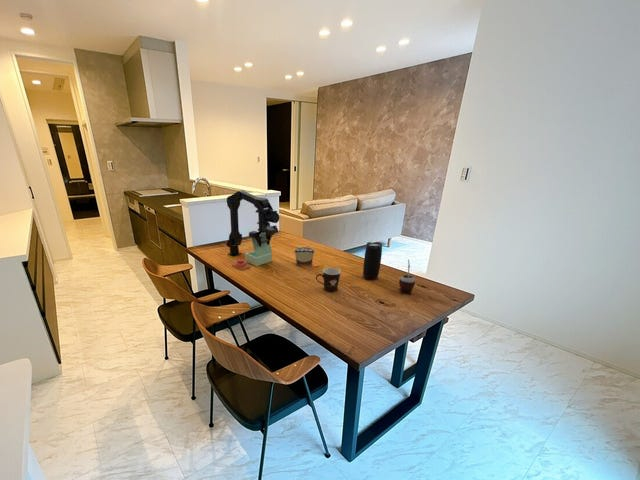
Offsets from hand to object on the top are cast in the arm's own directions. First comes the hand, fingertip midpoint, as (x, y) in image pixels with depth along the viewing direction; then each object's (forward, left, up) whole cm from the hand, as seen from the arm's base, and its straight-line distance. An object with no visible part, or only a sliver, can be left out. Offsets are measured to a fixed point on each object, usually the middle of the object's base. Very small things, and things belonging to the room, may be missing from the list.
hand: (264, 245), depth 182 cm
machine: (-6, 0, -12) cm, 13 cm away
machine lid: (-3, 0, 0) cm, 3 cm away
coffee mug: (+50, +1, -12) cm, 51 cm away
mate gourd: (+78, +27, -12) cm, 83 cm away
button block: (-6, -14, -12) cm, 19 cm away
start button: (-6, -14, -9) cm, 18 cm away
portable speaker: (+57, +29, -12) cm, 65 cm away
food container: (+17, +18, -12) cm, 27 cm away
